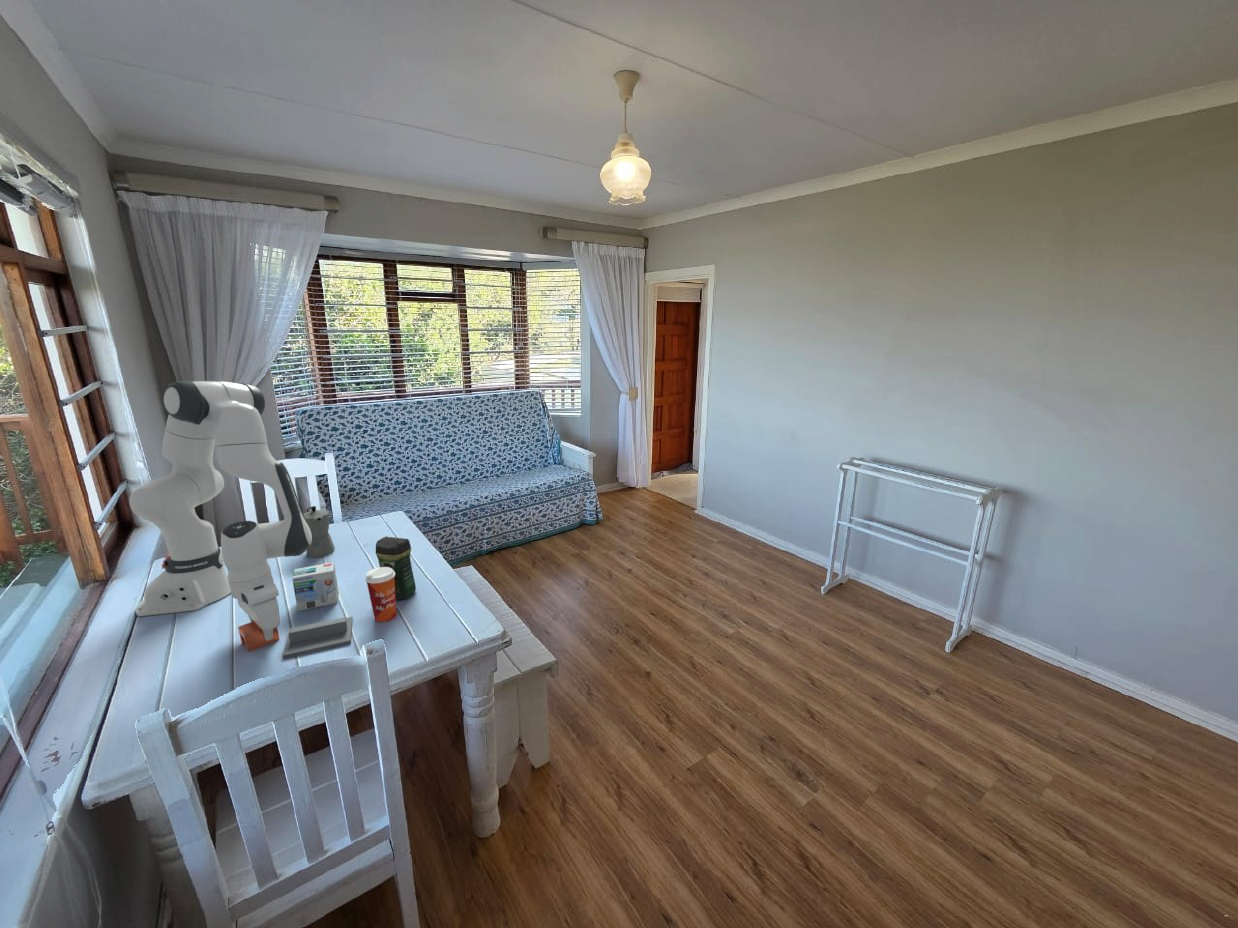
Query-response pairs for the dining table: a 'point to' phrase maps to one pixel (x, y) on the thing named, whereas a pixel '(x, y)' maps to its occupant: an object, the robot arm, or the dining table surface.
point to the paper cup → (382, 593)
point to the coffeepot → (319, 533)
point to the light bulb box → (315, 586)
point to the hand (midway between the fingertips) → (262, 631)
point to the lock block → (255, 636)
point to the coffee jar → (397, 564)
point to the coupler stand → (318, 637)
